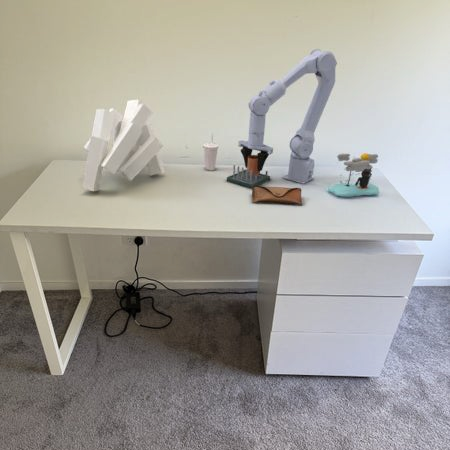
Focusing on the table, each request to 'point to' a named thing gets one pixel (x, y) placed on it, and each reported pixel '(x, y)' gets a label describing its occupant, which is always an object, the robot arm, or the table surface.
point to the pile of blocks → (122, 145)
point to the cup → (252, 164)
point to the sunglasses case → (276, 195)
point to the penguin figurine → (363, 185)
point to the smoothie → (210, 154)
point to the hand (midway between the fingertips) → (253, 169)
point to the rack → (247, 178)
